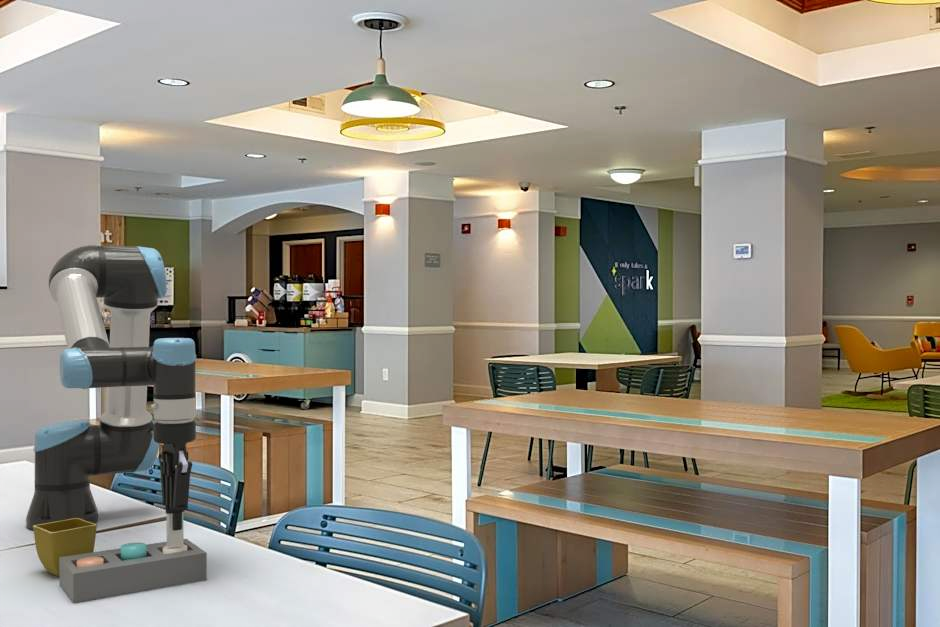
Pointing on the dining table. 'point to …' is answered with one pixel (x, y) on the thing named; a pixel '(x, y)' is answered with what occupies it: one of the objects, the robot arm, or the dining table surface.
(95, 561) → the terracotta button
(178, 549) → the cream button
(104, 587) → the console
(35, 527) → the flower pot
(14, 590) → the dining table surface
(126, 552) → the teal button
